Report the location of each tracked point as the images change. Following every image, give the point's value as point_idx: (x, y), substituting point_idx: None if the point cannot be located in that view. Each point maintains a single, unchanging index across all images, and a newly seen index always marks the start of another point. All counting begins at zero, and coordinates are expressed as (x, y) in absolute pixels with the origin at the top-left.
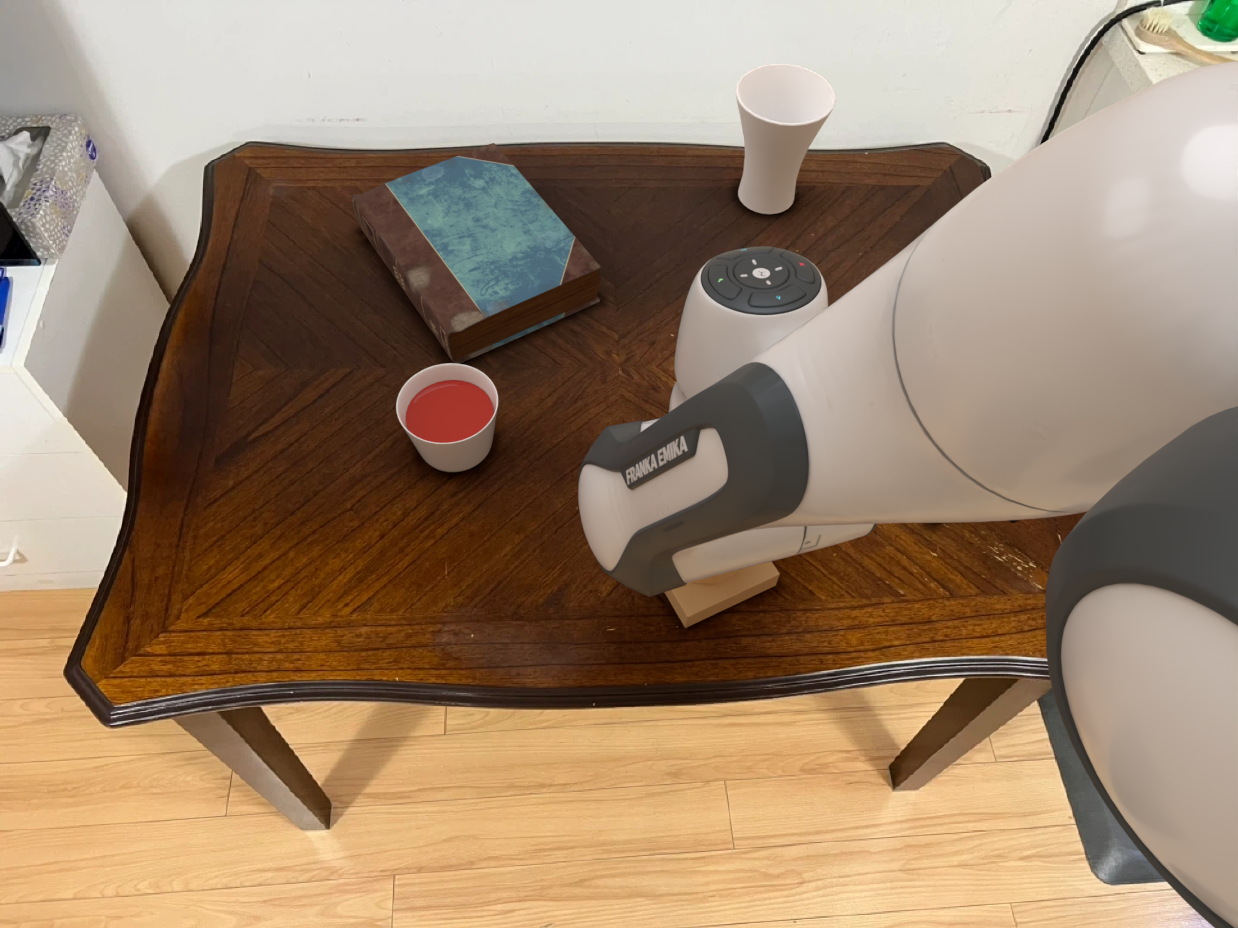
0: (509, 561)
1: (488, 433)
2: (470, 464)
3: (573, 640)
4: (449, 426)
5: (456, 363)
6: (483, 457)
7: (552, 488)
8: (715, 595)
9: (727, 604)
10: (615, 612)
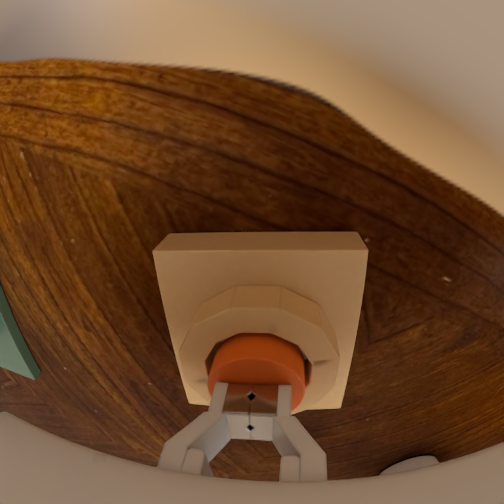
0: (463, 387)
1: None
2: (419, 463)
3: (486, 284)
4: None
5: None
6: (404, 465)
7: (373, 437)
8: (292, 265)
9: (271, 238)
10: (427, 299)
